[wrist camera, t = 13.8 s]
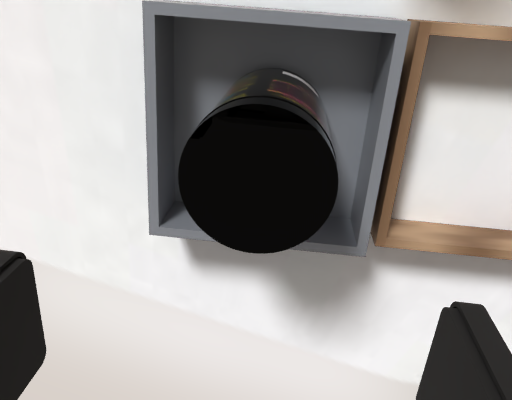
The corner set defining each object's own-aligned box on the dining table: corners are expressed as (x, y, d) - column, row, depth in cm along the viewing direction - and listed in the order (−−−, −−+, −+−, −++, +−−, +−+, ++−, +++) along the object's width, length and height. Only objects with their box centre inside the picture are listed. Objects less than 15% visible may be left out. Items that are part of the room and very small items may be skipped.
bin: (393, 18, 26) (411, 21, 22) (356, 223, 31) (365, 256, 27) (166, 0, 27) (142, 0, 23) (168, 204, 32) (149, 234, 28)
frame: (646, 37, 25) (689, 42, 23) (565, 243, 31) (591, 267, 28) (407, 19, 26) (420, 21, 23) (368, 224, 31) (375, 245, 29)
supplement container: (201, 142, 29) (154, 213, 20) (246, 44, 27) (216, 71, 17) (294, 188, 30) (290, 277, 21) (347, 97, 27) (371, 152, 18)
